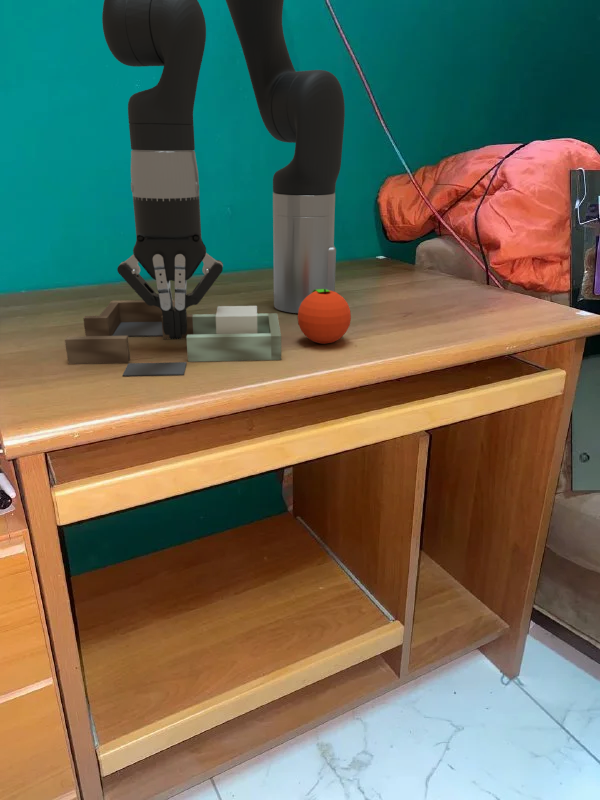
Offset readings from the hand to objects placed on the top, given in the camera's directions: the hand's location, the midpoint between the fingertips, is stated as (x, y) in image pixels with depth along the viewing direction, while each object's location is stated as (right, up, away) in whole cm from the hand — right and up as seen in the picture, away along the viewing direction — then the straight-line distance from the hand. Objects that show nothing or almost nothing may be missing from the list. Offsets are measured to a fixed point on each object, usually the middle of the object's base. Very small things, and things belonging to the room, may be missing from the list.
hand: (175, 337), depth 79 cm
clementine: (+19, 0, +4) cm, 19 cm away
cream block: (+8, -1, +1) cm, 8 cm away
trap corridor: (0, -1, +3) cm, 3 cm away
